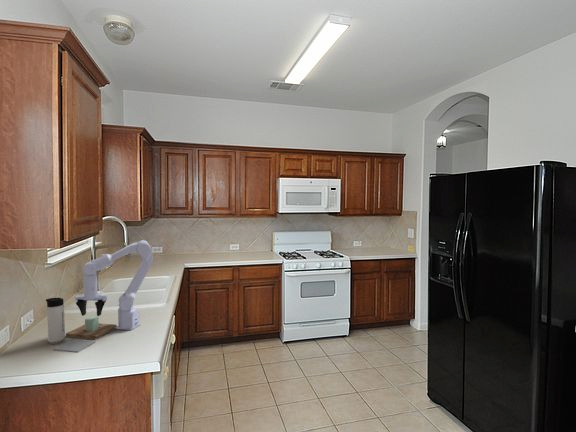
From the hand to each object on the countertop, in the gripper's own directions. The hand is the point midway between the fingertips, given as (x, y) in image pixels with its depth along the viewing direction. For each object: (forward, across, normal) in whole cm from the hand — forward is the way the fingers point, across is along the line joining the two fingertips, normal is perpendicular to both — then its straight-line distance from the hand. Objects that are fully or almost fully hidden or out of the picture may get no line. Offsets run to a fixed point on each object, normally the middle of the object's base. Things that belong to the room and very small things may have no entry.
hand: (91, 315), depth 165 cm
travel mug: (+9, +9, +11) cm, 17 cm away
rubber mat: (+8, -2, +15) cm, 18 cm away
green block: (+8, 0, 0) cm, 8 cm away
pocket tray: (+8, 0, 0) cm, 8 cm away
